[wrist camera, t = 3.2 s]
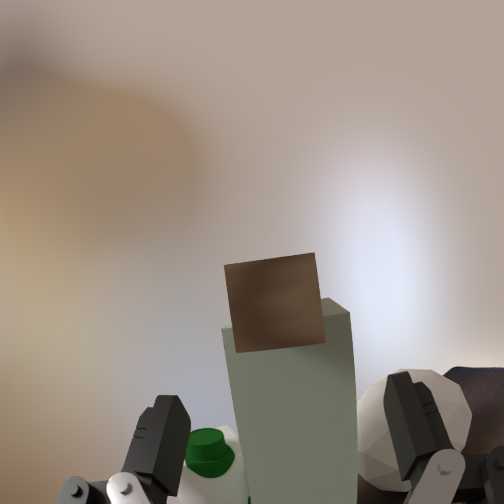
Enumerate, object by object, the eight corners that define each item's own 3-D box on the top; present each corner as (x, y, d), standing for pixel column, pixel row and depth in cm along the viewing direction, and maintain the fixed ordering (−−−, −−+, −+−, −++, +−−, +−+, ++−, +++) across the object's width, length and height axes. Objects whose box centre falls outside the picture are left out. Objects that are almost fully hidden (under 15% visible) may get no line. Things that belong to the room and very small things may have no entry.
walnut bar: (236, 353, 14) (223, 265, 14) (270, 305, 35) (265, 269, 35) (325, 342, 13) (314, 252, 14) (306, 300, 34) (301, 264, 34)
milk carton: (205, 569, 22) (162, 453, 24) (193, 529, 31) (159, 418, 33) (273, 553, 25) (252, 436, 27) (251, 517, 34) (230, 406, 35)
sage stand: (270, 583, 19) (221, 328, 22) (278, 520, 32) (247, 308, 35) (350, 576, 18) (349, 312, 21) (341, 513, 31) (328, 297, 34)
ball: (371, 511, 36) (299, 437, 43) (437, 432, 45) (377, 364, 53) (445, 521, 21) (353, 425, 28) (510, 409, 30) (440, 320, 38)
